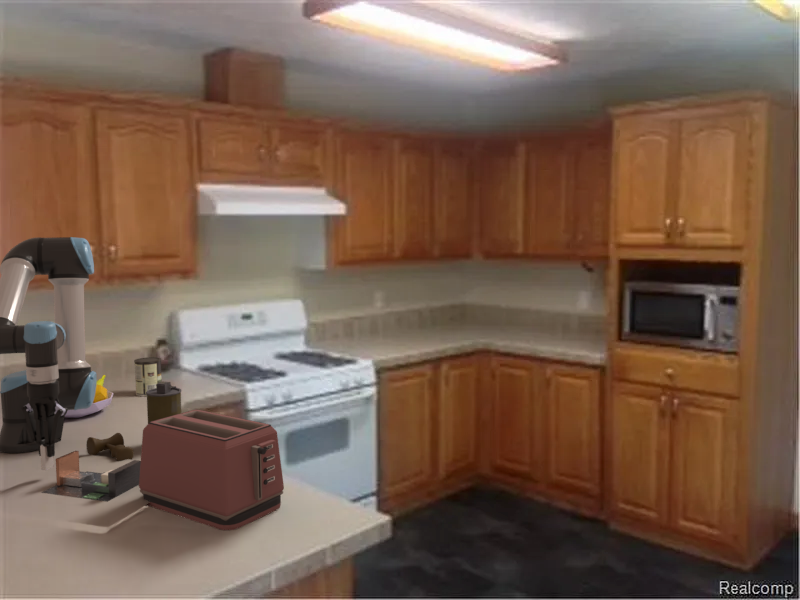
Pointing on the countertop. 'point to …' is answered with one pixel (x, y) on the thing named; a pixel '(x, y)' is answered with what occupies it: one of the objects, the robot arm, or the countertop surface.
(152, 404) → the canister
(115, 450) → the kendama
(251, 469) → the toaster
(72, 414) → the fruit bowl
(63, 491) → the grey slider puzzle board
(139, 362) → the coffee can
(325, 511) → the countertop surface
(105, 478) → the cream cube block
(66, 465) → the two-tone wooden block
